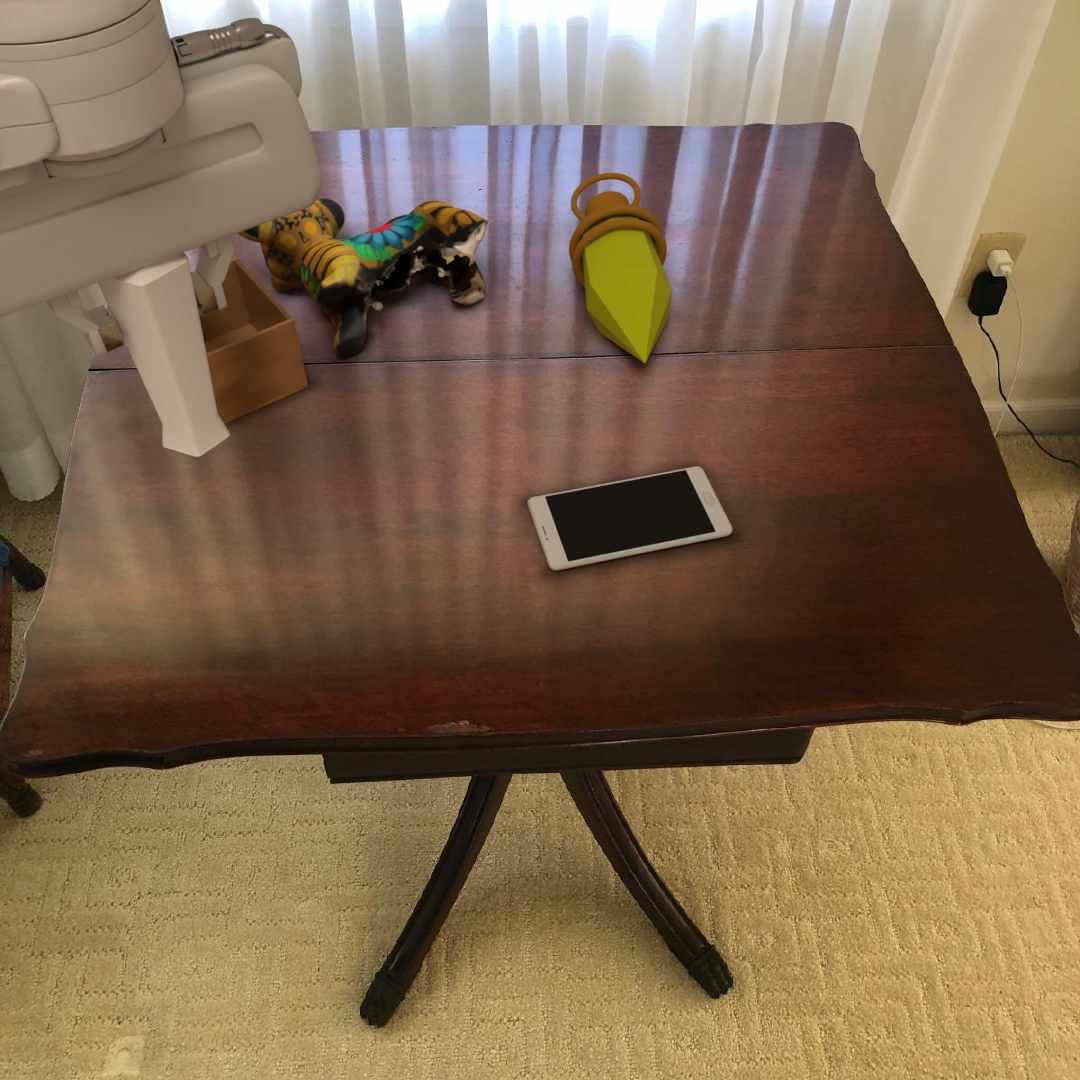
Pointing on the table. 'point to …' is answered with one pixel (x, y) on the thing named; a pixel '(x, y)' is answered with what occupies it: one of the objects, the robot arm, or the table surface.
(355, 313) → the multicolored animal figure
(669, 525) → the smartphone
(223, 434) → the perfume bottle
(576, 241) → the plumb bob
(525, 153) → the table surface
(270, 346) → the carton
